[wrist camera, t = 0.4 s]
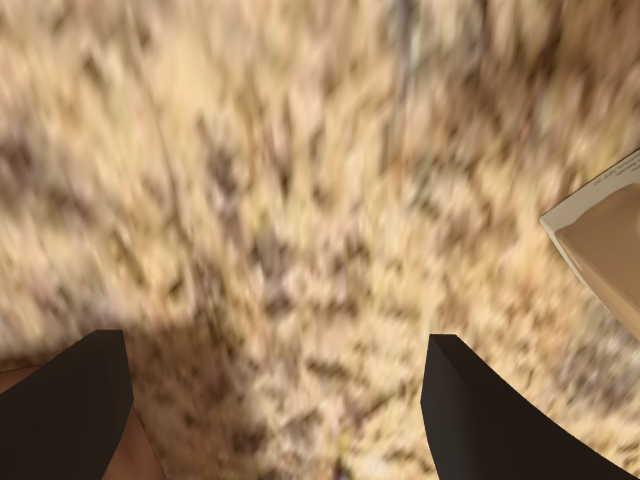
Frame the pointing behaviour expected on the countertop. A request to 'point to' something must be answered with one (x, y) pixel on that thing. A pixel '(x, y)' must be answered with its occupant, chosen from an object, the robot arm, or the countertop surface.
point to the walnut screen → (132, 451)
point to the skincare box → (604, 238)
